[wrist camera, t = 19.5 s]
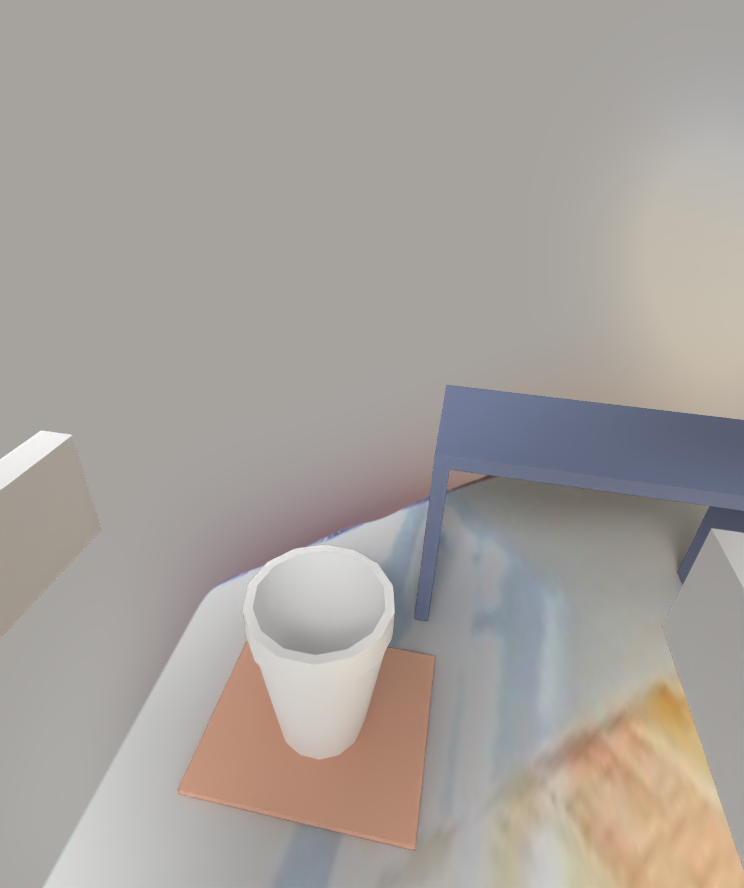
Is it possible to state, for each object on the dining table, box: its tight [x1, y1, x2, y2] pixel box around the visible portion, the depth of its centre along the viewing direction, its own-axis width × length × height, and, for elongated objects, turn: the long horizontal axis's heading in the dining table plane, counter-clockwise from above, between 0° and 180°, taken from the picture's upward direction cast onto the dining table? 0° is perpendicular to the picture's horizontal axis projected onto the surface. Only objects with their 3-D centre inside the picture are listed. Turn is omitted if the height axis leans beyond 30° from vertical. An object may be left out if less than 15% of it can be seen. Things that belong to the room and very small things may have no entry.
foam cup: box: [242, 545, 395, 760], centre depth 37 cm, size 10×9×13 cm
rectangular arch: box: [414, 385, 744, 621], centre depth 47 cm, size 27×12×18 cm, turn 79°
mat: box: [178, 640, 435, 851], centre depth 40 cm, size 16×14×1 cm
